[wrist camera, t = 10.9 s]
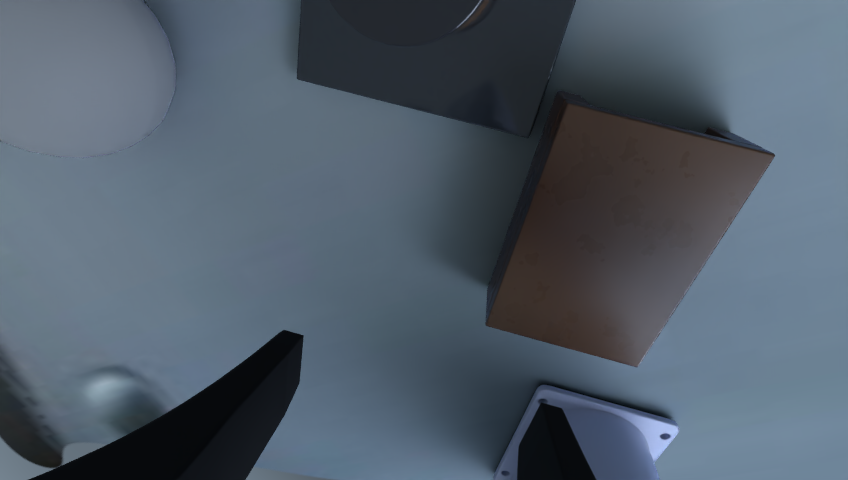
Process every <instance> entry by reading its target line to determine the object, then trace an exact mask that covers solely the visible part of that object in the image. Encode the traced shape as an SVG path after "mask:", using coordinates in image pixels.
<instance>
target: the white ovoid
mask: <svg viewBox="0 0 848 480" xmlns="http://www.w3.org/2000/svg"><path fill="white" fill-rule="evenodd" d="M175 89H176V65H175V61H174V57H173V54H172V50H171V46H170V43H169V40H168V38H167V36H166V34H165V32H164V30H163V28H162V27H161V25H160V23H159V21H158V19H157V17H156V15H155V14H154V13H153V12H152V11H151V10H150V8H149V7H148V6H147V5H146V4H145V3H144V1H143V0H0V140H1V141H2V142H4V143H6V144H9V145H12V146H15V147H18V148H21V149H23V150H26V151H29V152H34V153H40V154H45V155H50V156H56V157H66V158H89V157H96V156H103V155H110V154H113V153H116V152H118V151H121V150H123V149H126V148H129V147H131V146H133V145H135V144H136V143H138V142H139V141H141V140H143V139H144V138H146V137H147V136H149V135H150V134H151V133H152V132H153V131H154V130H155V129H156V127H157V126H158V125H159V124H160V123H161V122H162V121H163V119H164V117H165V115H166V113H167V111H168V109H169V107H170V104H171V101H172V98H173V95H174V92H175Z"/></svg>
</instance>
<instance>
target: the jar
mask: <svg viewBox="0 0 848 480" xmlns="http://www.w3.org/2000/svg"><path fill="white" fill-rule="evenodd" d="M328 1H329V2H330V3H331V5H332V6H333V8H334V9H335V10H336V12H337V13H338V14H339V15H340V16H341V17H342V18H343V20H344V21H345V22H346V23H348V24H349V25H350V26H351V27H352V28H353V29H355V30H356V31H358V32H359V33H361V34H362V35H364V36H365V37H367V38H369V39H371V40H373V41H376V42H379V43H382V44H385V45H389V46H395V47H416V46H422V45H426V44H430V43H433V42H436V41H438V40H441V39H443V38H445V37H447V36H449V35H451V34H452V33H454V32H456V31H458V30H460V29H462V28H464V27H466V26H467V25H469V24H470V23H471V22H472V21H474V20H475V19H476V18H477V17H478V16H479V15H480V14H481V12H482V11H483V10H484V8H485V7H486V6H487V4H488V2H489V1H490V0H328Z"/></svg>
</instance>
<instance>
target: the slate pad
mask: <svg viewBox="0 0 848 480" xmlns="http://www.w3.org/2000/svg"><path fill="white" fill-rule="evenodd" d="M575 2H576V0H490V1H489V2H488V4H487V6H486V7H485V8H484V10H483V11H482V12H481V14H480V15H479V16H478V17H477V18H476V19H475V20H474V21H472V22H471V23H470V24H469V25H467V26H466V27H464V28H462V29H460V30H458V31H456V32H454V33H452V34H451V35H449V36H447V37H445V38H443V39H441V40H438V41H436V42H433V43H430V44H426V45H422V46H416V47H395V46H389V45H385V44H382V43H379V42H376V41H373V40H371V39H369V38H367V37H365V36H364V35H362V34H361V33H359V32H358V31H356V30H355V29H353V28H352V27H351V26H350V25H349V24H348V23H346V22H345V21H344V20H343V18H342V17H341V16H340V15H339V14H338V13H337V12H336V10H335V9H334V8H333V6H332V5H331V3H330V2H329V1H328V0H301V14H300V32H299V50H298V68H297V79H298V80H302V81H306V82H310V83H314V84H317V85H321V86H325V87H329V88H333V89H337V90H341V91H345V92H349V93H353V94H357V95H361V96H365V97H369V98H373V99H376V100H380V101H384V102H388V103H392V104H396V105H400V106H404V107H408V108H412V109H416V110H420V111H424V112H428V113H432V114H436V115H439V116H443V117H447V118H451V119H455V120H459V121H463V122H467V123H471V124H475V125H479V126H483V127H487V128H491V129H495V130H498V131H502V132H506V133H510V134H514V135H518V136H522V137H526V138H529V137H530V134H531V131H532V128H533V126H534V123H535V120H536V117H537V114H538V111H539V108H540V105H541V102H542V99H543V96H544V93H545V90H546V87H547V84H548V81H549V78H550V75H551V73H552V70H553V67H554V64H555V61H556V58H557V55H558V52H559V49H560V46H561V43H562V40H563V37H564V34H565V31H566V28H567V25H568V22H569V19H570V17H571V14H572V11H573V8H574V5H575Z"/></svg>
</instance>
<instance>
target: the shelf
mask: <svg viewBox="0 0 848 480" xmlns="http://www.w3.org/2000/svg"><path fill="white" fill-rule="evenodd" d="M774 157H775V155H774V154H773V153H771V152H769V151H767V150H765V149H763V148H762V147H760V146H758V145H756V144H754V143H752V142H750V141H748V140H745V139H743V138H741V137H739V136H737V135H735V134H733V133H730V132H726V131H722V130H718V129H714V128H710V127H708V128H707V130H706V131H705V133H700V132H696V131H692V130H687V129H683V128H679V127H675V126H671V125H667V124H663V123H659V122H655V121H651V120H647V119H643V118H639V117H635V116H631V115H627V114H623V113H619V112H615V111H611V110H607V109H603V108H599V107H595V106H591V105H590V104H589V103H588V102H587V101H586V100H584V99H583V98H582V97H581V96H580V95H577V94H573V93H569V92H565V91H561V90H559V91H557V93H556V95H555V98H554V101H553V104H552V107H551V110H550V112H549V115H548V118H547V121H546V124H545V127H544V129H543V132H542V135H541V138H540V141H539V144H538V146H537V149H536V152H535V155H534V158H533V161H532V163H531V166H530V169H529V172H528V175H527V178H526V180H525V183H524V186H523V189H522V192H521V195H520V197H519V200H518V203H517V206H516V209H515V212H514V214H513V217H512V220H511V223H510V226H509V229H508V231H507V234H506V237H505V240H504V243H503V246H502V249H501V251H500V254H499V257H498V260H497V263H496V266H495V268H494V271H493V274H492V277H491V280H490V283H489V285H488V288H487V306H486V326H489V327H492V328H496V329H500V330H503V331H507V332H510V333H514V334H518V335H521V336H525V337H529V338H532V339H536V340H540V341H543V342H547V343H550V344H554V345H558V346H561V347H565V348H569V349H572V350H576V351H580V352H583V353H587V354H590V355H594V356H598V357H601V358H605V359H609V360H612V361H616V362H620V363H623V364H627V365H630V366H634V367H638V366H639V365H640V363H641V362H642V360H643V358H644V357H645V355H646V354H647V352H648V351H649V349H650V348H651V346H652V345H653V343H654V342H655V340H656V338H657V337H658V335H659V334H660V332H661V331H662V329H663V328H664V326H665V325H666V323H667V322H668V320H669V318H670V317H671V315H672V314H673V312H674V311H675V309H676V308H677V306H678V305H679V303H680V301H681V300H682V298H683V297H684V295H685V294H686V292H687V291H688V289H689V288H690V286H691V285H692V283H693V281H694V280H695V278H696V277H697V275H698V274H699V272H700V271H701V269H702V268H703V266H704V265H705V263H706V261H707V260H708V258H709V257H710V255H711V254H712V252H713V251H714V249H715V248H716V246H717V245H718V243H719V241H720V240H721V238H722V237H723V235H724V234H725V232H726V231H727V229H728V228H729V226H730V225H731V223H732V221H733V220H734V218H735V217H736V215H737V214H738V212H739V211H740V209H741V208H742V206H743V204H744V203H745V201H746V200H747V198H748V197H749V195H750V194H751V192H752V191H753V189H754V188H755V186H756V184H757V183H758V181H759V180H760V178H761V177H762V175H763V174H764V172H765V171H766V169H767V168H768V166H769V164H770V163H771V161H772V160H773V158H774Z"/></svg>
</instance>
